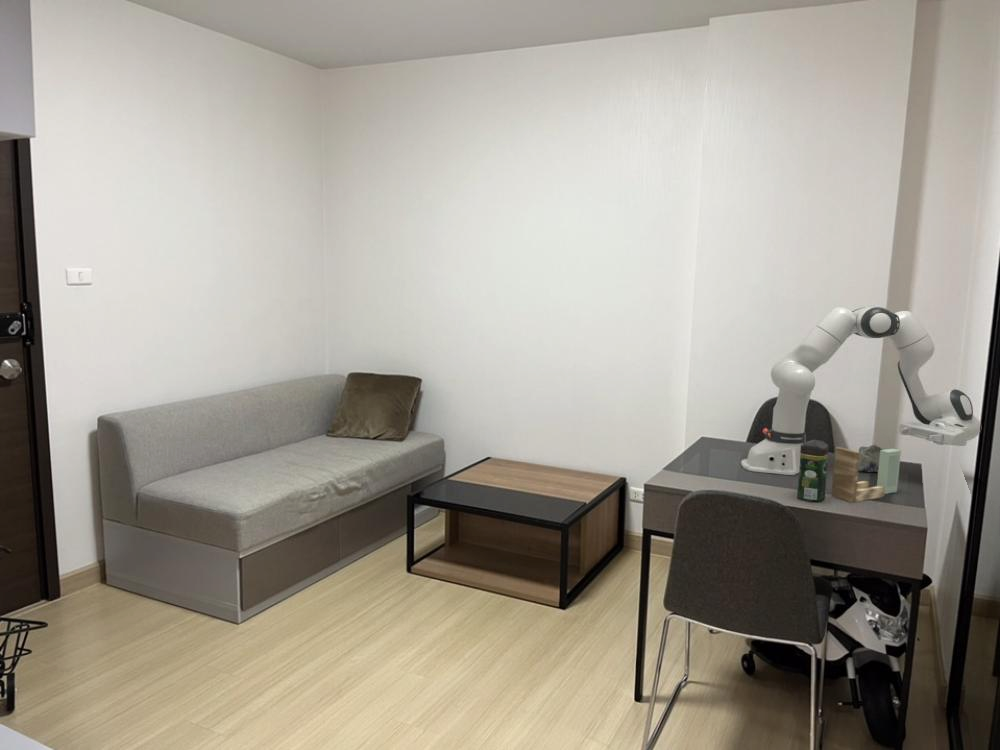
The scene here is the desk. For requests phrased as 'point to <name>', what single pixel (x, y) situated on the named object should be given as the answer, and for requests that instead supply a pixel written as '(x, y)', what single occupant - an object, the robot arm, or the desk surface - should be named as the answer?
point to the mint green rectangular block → (889, 470)
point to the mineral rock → (869, 458)
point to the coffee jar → (812, 470)
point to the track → (851, 478)
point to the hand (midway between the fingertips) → (915, 435)
